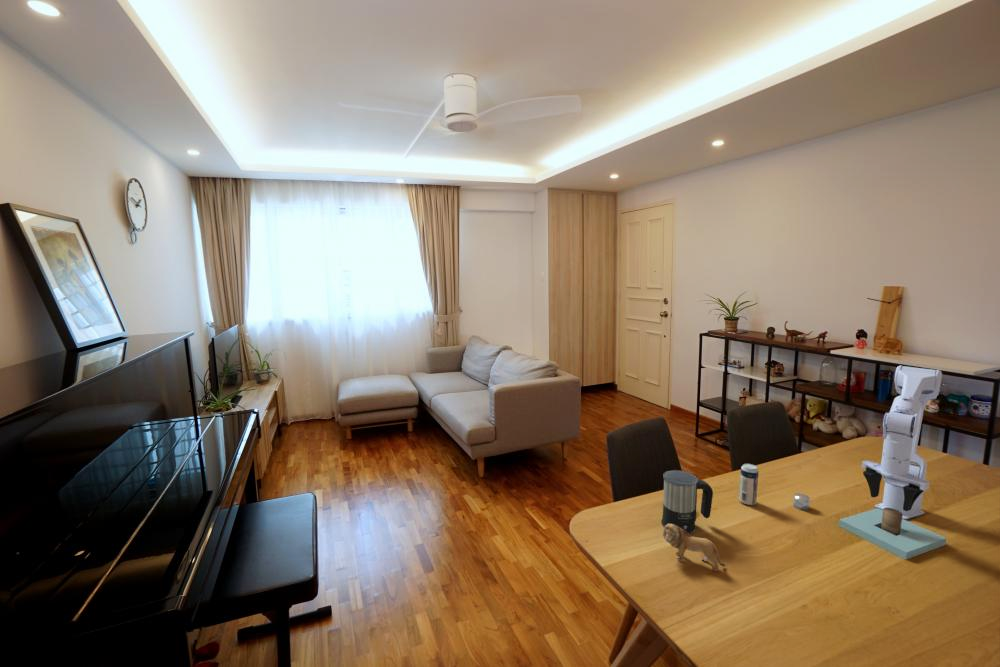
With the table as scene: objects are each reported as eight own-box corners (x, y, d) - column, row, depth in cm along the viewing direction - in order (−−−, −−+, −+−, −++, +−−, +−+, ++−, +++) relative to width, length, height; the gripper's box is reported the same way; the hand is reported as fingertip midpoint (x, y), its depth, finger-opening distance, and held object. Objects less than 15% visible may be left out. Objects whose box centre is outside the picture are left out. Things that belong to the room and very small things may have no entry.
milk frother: (676, 537, 122) (678, 487, 120) (639, 509, 137) (641, 463, 134) (716, 527, 127) (719, 478, 125) (676, 500, 141) (679, 456, 139)
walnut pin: (886, 529, 125) (888, 506, 124) (902, 537, 121) (906, 513, 120) (876, 532, 123) (879, 509, 122) (893, 540, 120) (896, 516, 119)
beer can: (758, 507, 137) (761, 470, 135) (741, 505, 138) (744, 469, 136) (752, 499, 142) (755, 463, 140) (736, 497, 143) (739, 462, 141)
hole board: (876, 514, 133) (877, 508, 132) (945, 544, 118) (946, 538, 117) (838, 525, 127) (839, 519, 126) (905, 559, 112) (906, 552, 112)
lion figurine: (661, 561, 112) (663, 528, 111) (661, 549, 117) (663, 517, 116) (726, 574, 107) (729, 539, 106) (723, 560, 112) (725, 527, 111)
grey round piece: (799, 502, 140) (800, 492, 139) (811, 509, 136) (813, 498, 135) (790, 505, 138) (791, 494, 138) (802, 511, 134) (803, 500, 134)
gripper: (857, 448, 125) (852, 493, 127) (920, 469, 112) (913, 519, 114) (873, 444, 128) (867, 488, 130) (936, 465, 114) (929, 514, 116)
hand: (890, 502), depth 122 cm, fingers open, 7 cm apart
